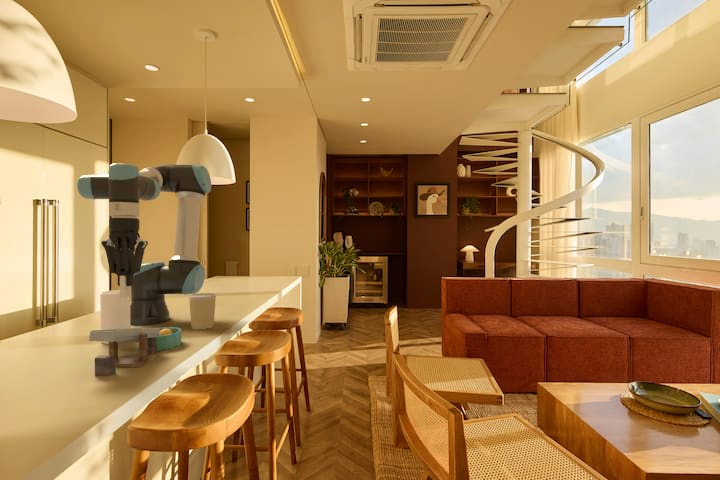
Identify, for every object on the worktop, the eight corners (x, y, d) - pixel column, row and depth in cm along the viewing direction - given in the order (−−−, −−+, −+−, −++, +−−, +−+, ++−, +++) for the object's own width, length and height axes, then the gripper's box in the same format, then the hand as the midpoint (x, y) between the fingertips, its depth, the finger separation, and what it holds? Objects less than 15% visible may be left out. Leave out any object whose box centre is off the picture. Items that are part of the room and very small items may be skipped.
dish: (156, 339, 124) (155, 326, 124) (187, 340, 123) (187, 327, 123) (133, 349, 113) (133, 336, 113) (168, 350, 112) (168, 337, 112)
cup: (136, 336, 127) (135, 290, 126) (118, 344, 118) (117, 294, 118) (113, 336, 127) (113, 289, 127) (94, 343, 119) (93, 293, 119)
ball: (158, 343, 120) (164, 335, 123) (170, 344, 119) (176, 335, 123) (154, 334, 118) (161, 325, 121) (166, 334, 117) (173, 326, 121)
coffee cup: (207, 322, 147) (206, 292, 147) (221, 326, 142) (220, 294, 141) (184, 327, 140) (183, 295, 139) (198, 331, 134) (197, 298, 134)
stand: (132, 350, 113) (132, 324, 112) (167, 351, 112) (167, 325, 112) (81, 374, 94) (81, 343, 94) (123, 376, 93) (123, 344, 93)
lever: (123, 339, 112) (124, 327, 113) (159, 340, 111) (160, 328, 112) (69, 344, 93) (71, 329, 94) (112, 345, 92) (114, 330, 93)
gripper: (93, 216, 106) (94, 299, 107) (137, 217, 105) (138, 300, 106) (112, 217, 114) (113, 294, 114) (153, 217, 113) (154, 295, 114)
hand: (125, 297), depth 110 cm, fingers closed
